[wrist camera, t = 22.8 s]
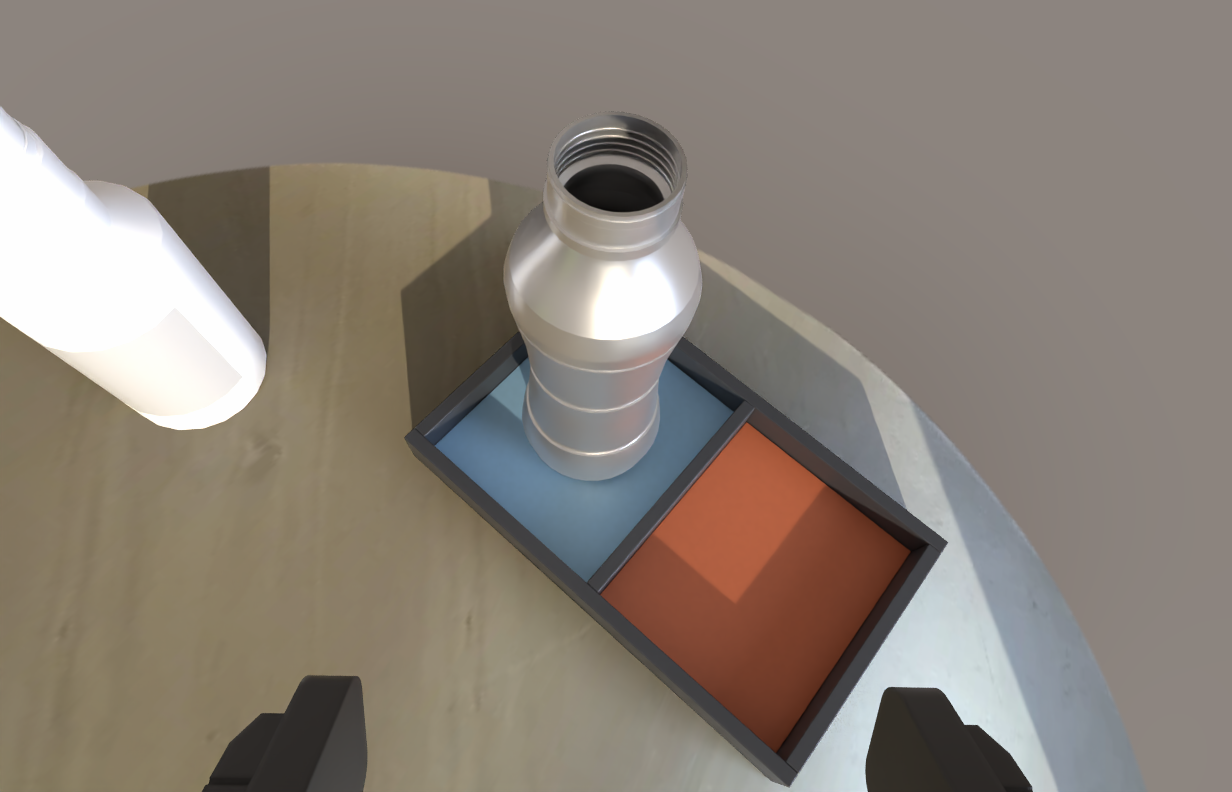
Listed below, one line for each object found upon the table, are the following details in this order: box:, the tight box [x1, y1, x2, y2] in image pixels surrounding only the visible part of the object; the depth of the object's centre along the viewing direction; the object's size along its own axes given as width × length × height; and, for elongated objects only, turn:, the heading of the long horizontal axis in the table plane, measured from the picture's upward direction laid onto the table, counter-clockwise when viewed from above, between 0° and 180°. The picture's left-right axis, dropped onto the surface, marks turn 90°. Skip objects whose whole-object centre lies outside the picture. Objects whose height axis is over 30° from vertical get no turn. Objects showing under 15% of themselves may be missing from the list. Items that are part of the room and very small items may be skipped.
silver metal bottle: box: [503, 112, 702, 481], centre depth 28 cm, size 6×7×20 cm
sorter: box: [404, 331, 948, 787], centre depth 35 cm, size 23×14×3 cm, turn 49°
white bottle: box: [0, 106, 267, 430], centre depth 29 cm, size 7×7×18 cm
